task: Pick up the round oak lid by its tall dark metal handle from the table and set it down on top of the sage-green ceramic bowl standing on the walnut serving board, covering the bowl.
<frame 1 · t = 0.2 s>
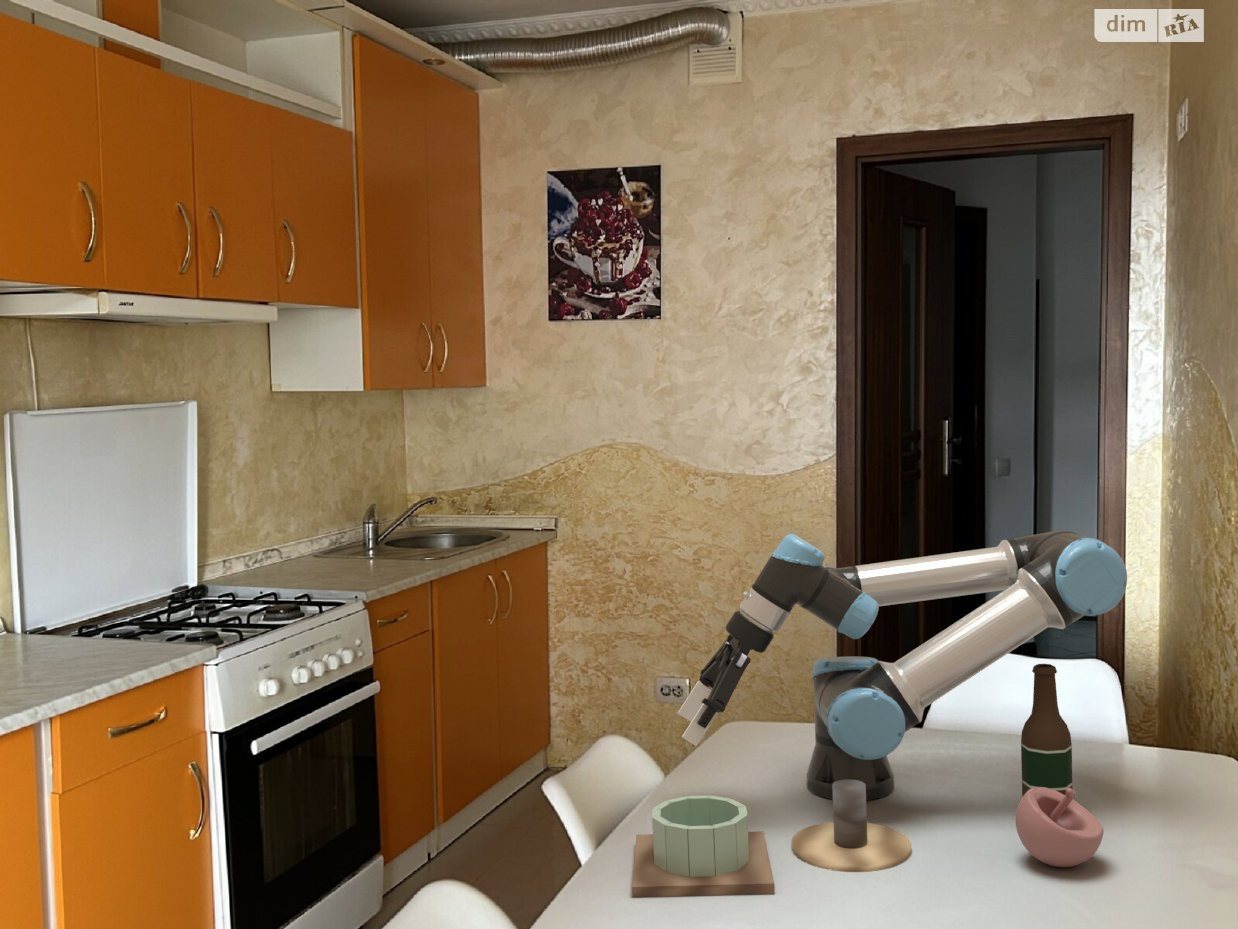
hand: (686, 729, 199), 15 cm above the table, tool tilted 35°, fingers open, 13 cm apart
beer bottle: (1047, 811, 197), on the table
lid: (851, 850, 185), on the table
mortar and pestle: (1059, 865, 175), on the table
serving board: (701, 867, 180), on the table
bowl: (701, 857, 180), resting on serving board
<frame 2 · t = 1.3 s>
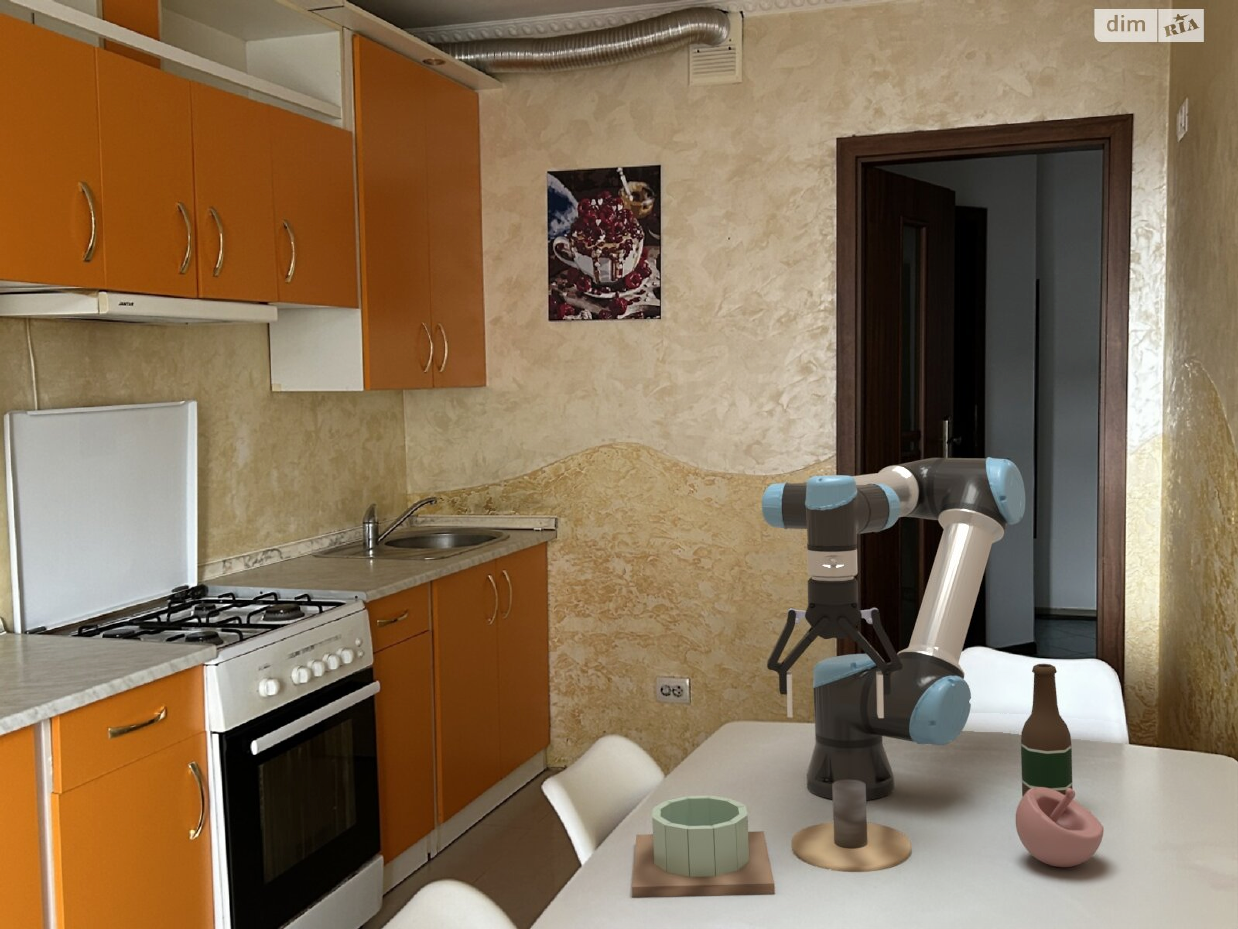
hand: (834, 716, 184), 21 cm above the table, tool pointing down, fingers open, 13 cm apart
nothing on the table moved.
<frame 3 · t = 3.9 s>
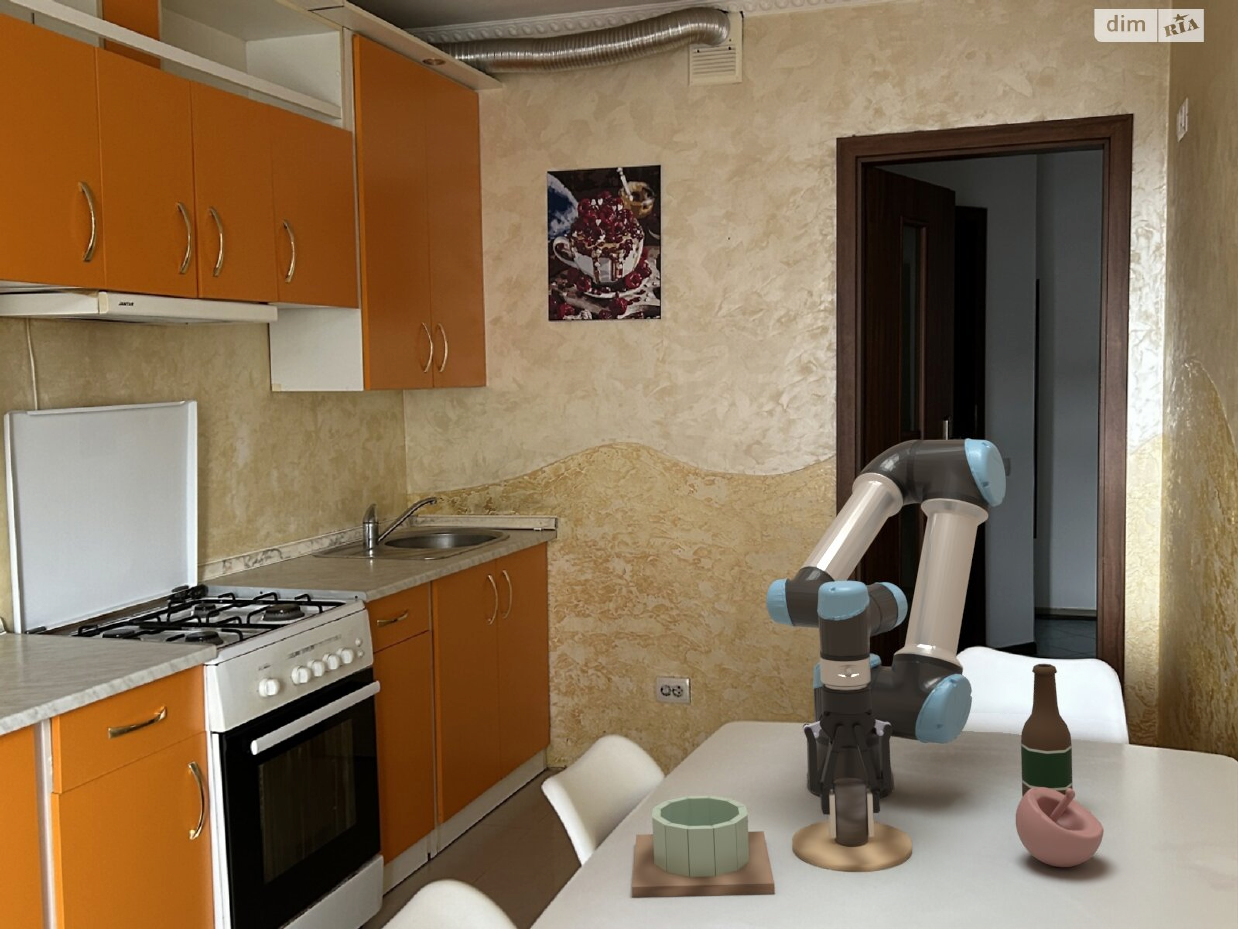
hand: (851, 833, 184), 2 cm above the table, tool pointing down, fingers closed on lid, 5 cm apart
lid: (851, 848, 185), on the table, touching gripper
everything else where it was.
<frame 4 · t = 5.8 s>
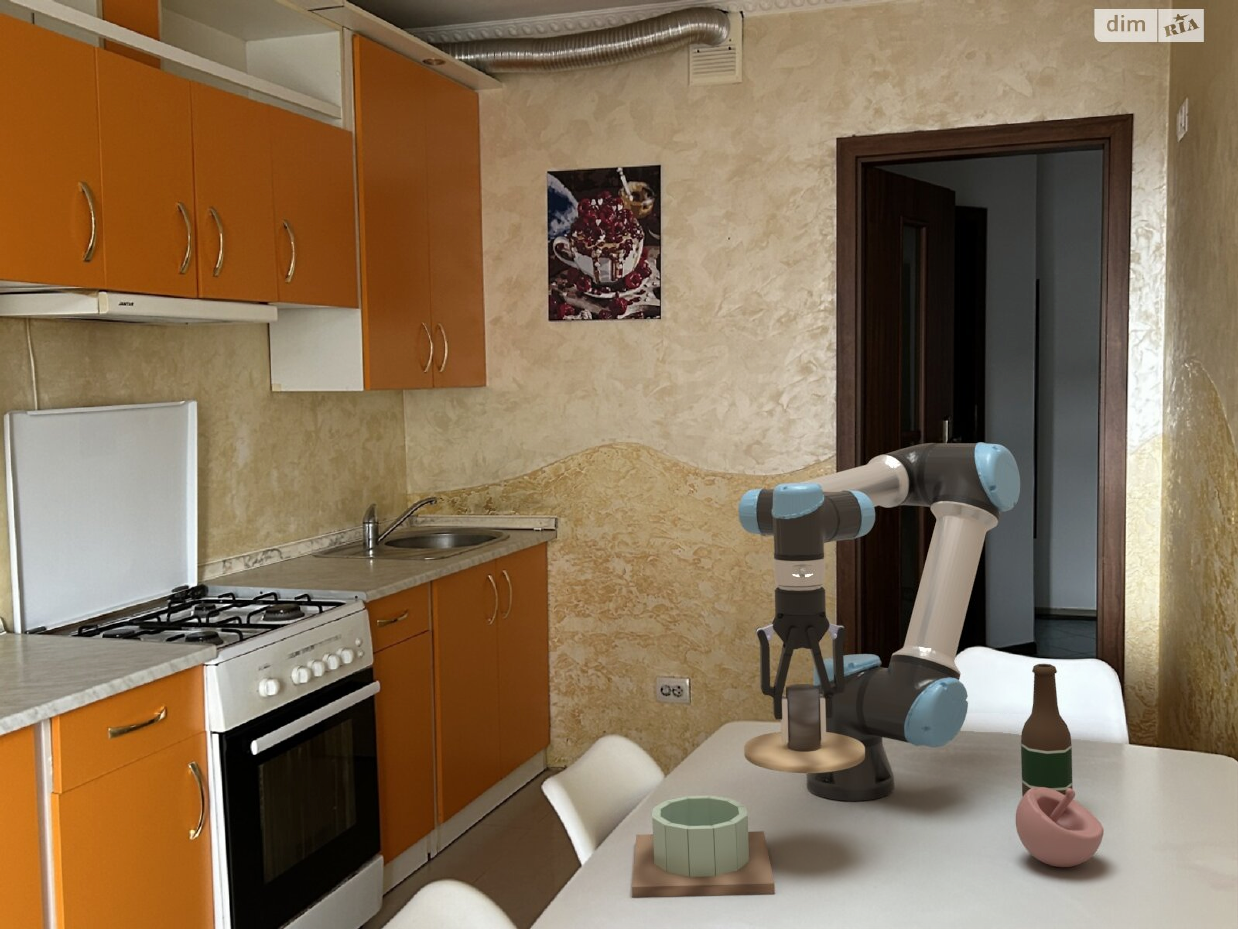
hand: (803, 739, 182), 18 cm above the table, tool pointing down, fingers closed on lid, 5 cm apart
lid: (804, 754, 182), point 15 cm above the table, touching gripper
everything else where it was.
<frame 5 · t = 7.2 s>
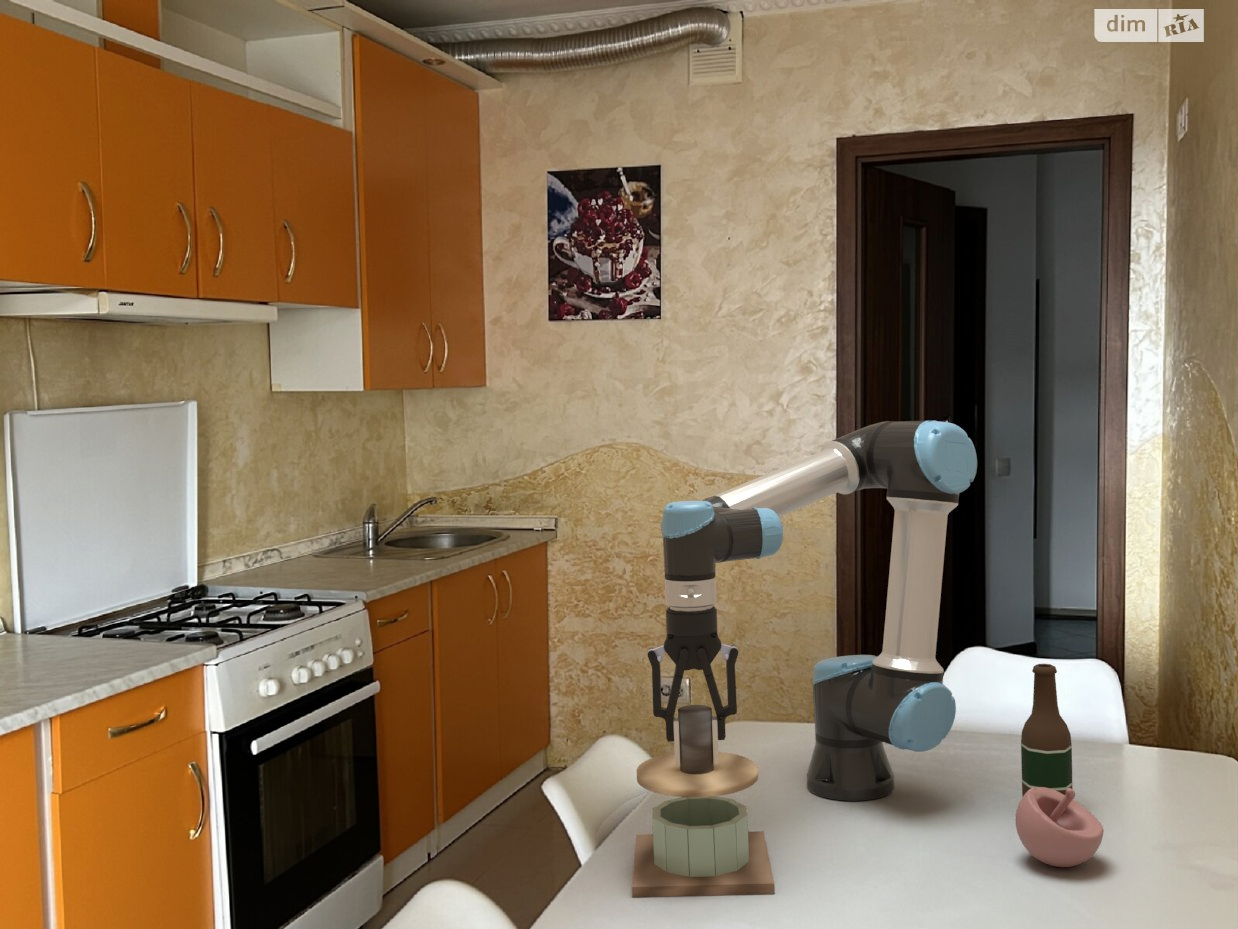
hand: (696, 761, 179), 16 cm above the table, tool pointing down, fingers closed on lid, 5 cm apart
lid: (697, 777, 179), point 14 cm above the table, touching gripper
everything else where it was.
when the fingers open (12 cm above the table, at t = 8.1 s): lid drops 1 cm, resting on bowl.
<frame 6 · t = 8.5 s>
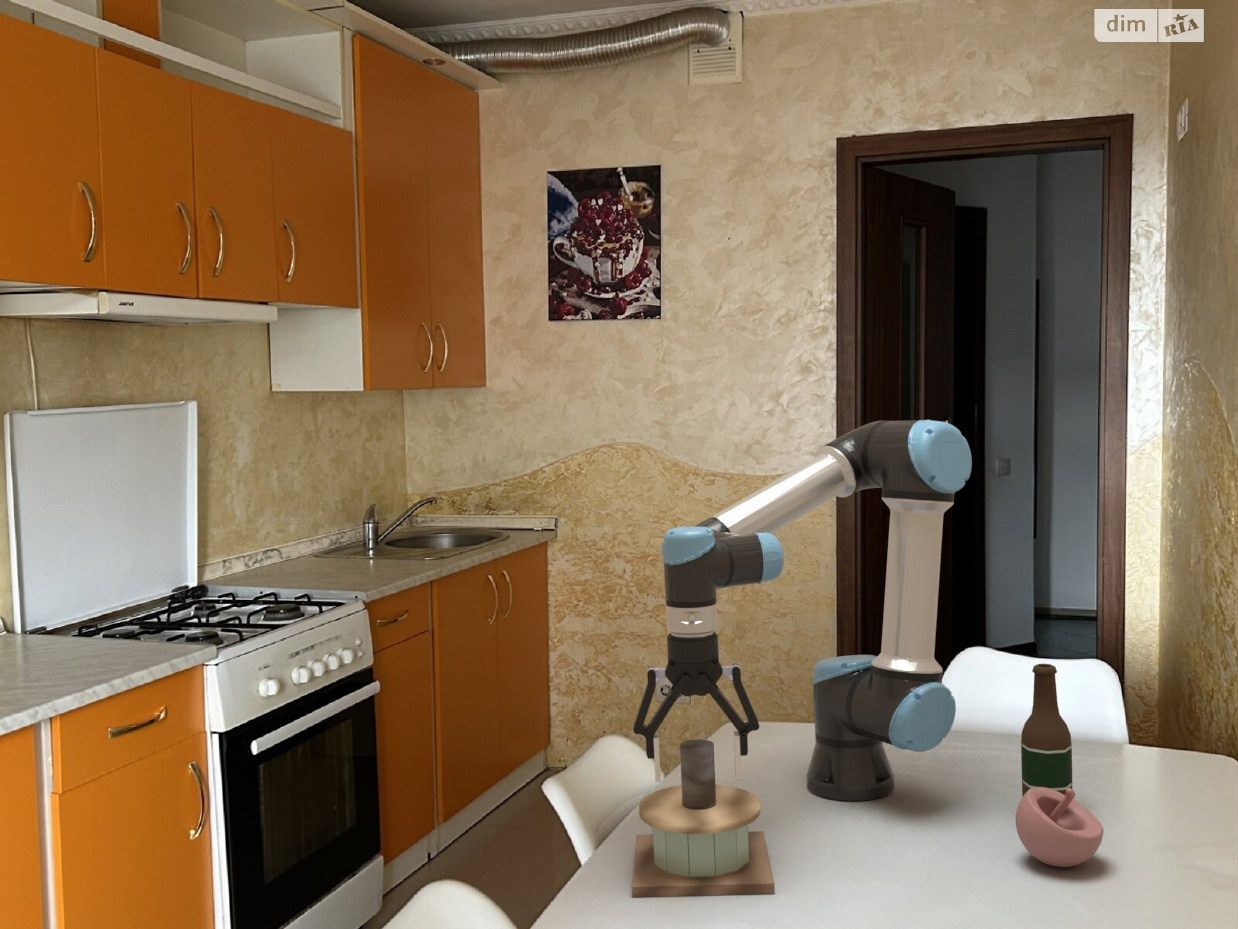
hand: (698, 778, 179), 14 cm above the table, tool pointing down, fingers open, 11 cm apart
lid: (699, 811, 179), point 8 cm above the table, touching bowl
everything else where it was.
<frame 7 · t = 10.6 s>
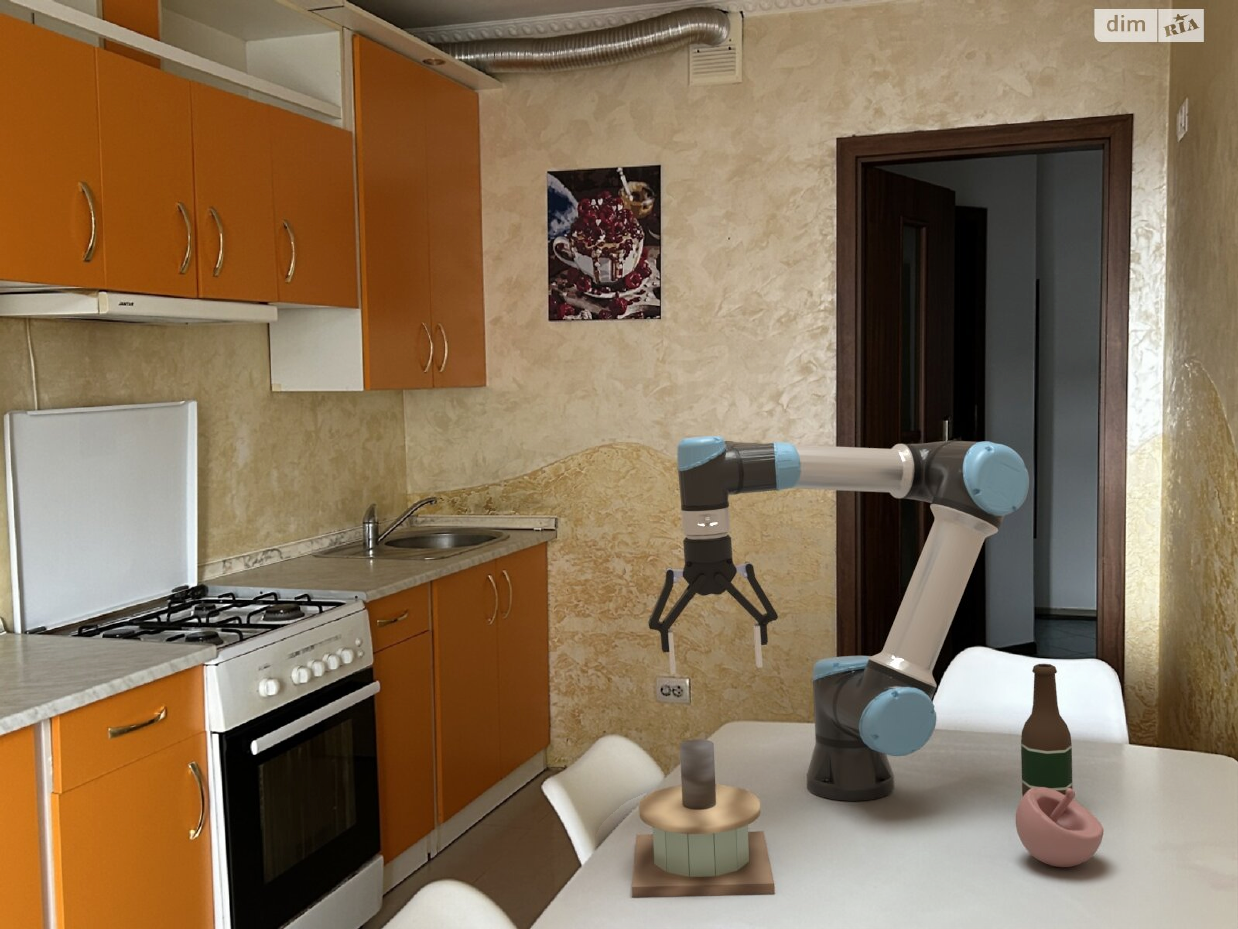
hand: (716, 669, 190), 27 cm above the table, tool pointing down, fingers open, 13 cm apart
nothing on the table moved.
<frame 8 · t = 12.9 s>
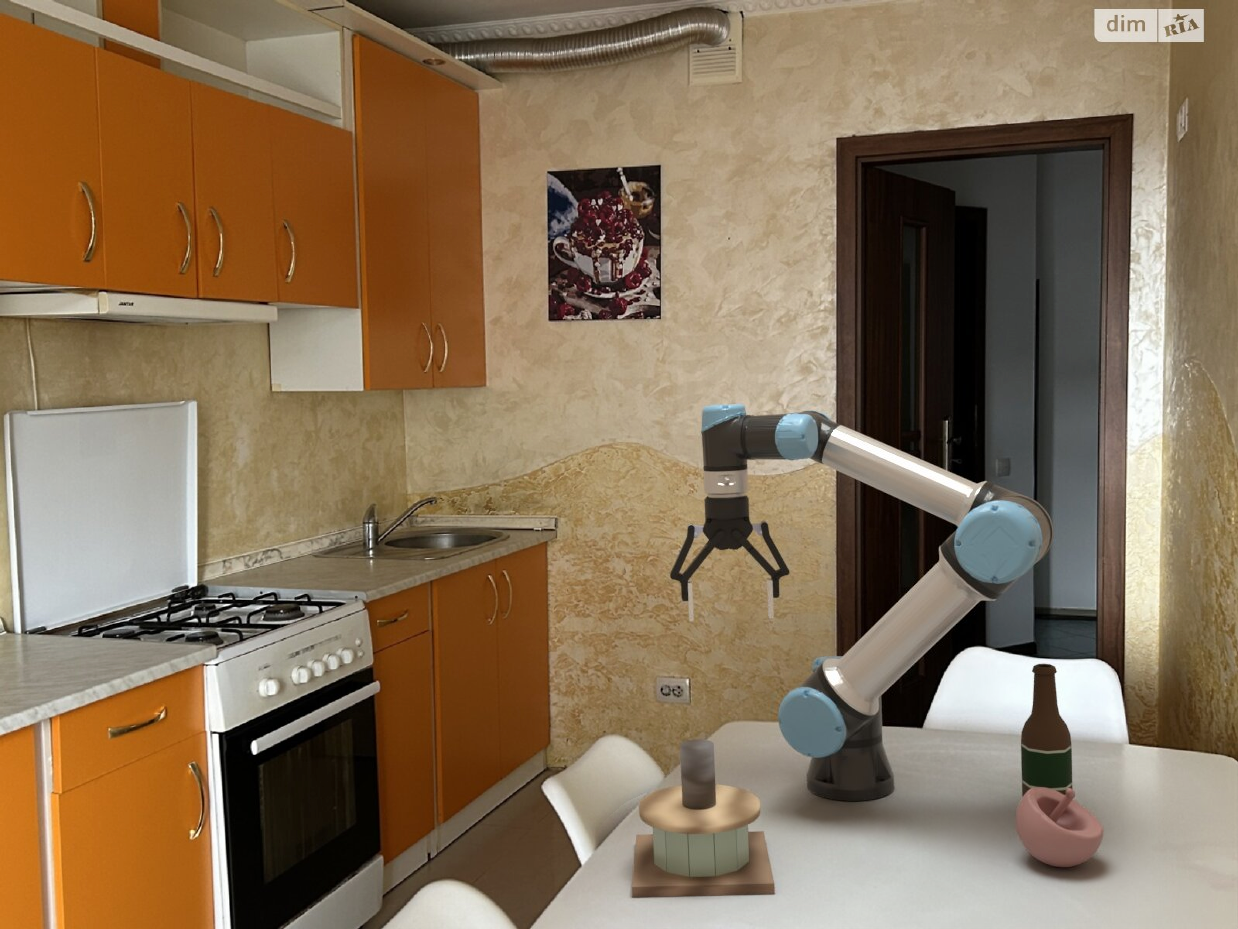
hand: (731, 618, 206), 32 cm above the table, tool pointing down, fingers open, 13 cm apart
nothing on the table moved.
at the end: lid 0.0 cm off-centre on the bowl, point 7.0 cm above the bowl's base; lid tilted 0°; the gripper is holding nothing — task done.
